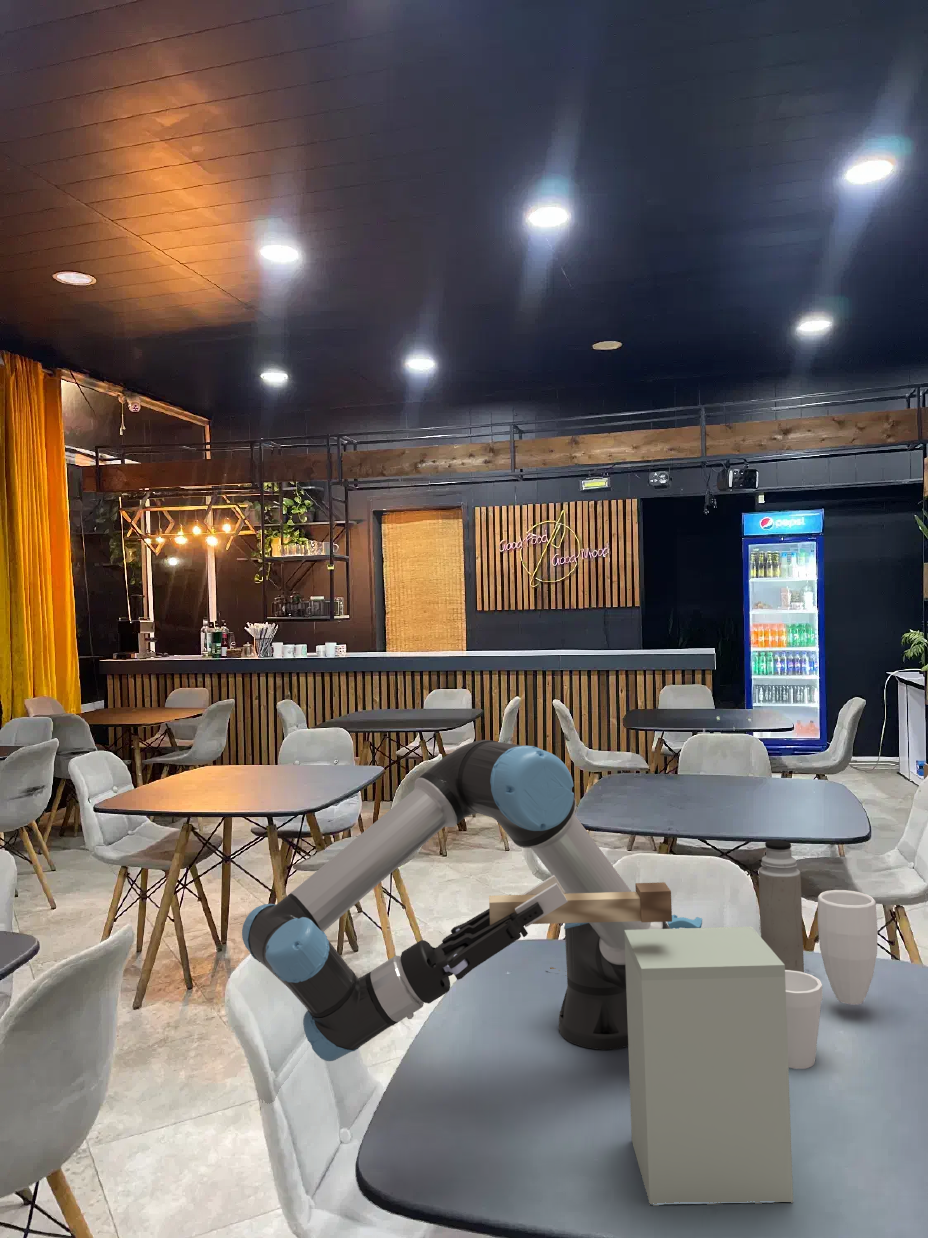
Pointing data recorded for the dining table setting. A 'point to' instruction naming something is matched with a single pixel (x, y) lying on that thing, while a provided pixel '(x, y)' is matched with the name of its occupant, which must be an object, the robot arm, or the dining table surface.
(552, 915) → the beech bar
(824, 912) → the cup
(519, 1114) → the dining table surface
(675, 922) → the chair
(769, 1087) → the stand
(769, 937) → the thermos bottle
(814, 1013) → the foam cup
